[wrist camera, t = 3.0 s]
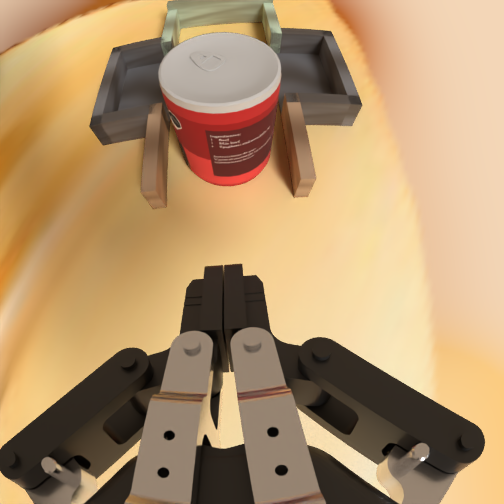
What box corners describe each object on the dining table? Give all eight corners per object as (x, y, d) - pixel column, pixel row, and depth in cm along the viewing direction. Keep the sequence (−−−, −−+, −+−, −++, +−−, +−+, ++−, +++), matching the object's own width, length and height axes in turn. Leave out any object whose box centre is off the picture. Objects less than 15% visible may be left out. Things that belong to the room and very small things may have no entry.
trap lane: (370, 194, 26) (389, 172, 22) (93, 216, 25) (70, 197, 21) (312, 20, 32) (316, -4, 28) (131, 33, 31) (124, 10, 27)
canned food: (207, 110, 28) (194, 24, 17) (282, 135, 27) (299, 47, 16) (169, 171, 26) (132, 90, 15) (250, 202, 26) (254, 122, 15)
